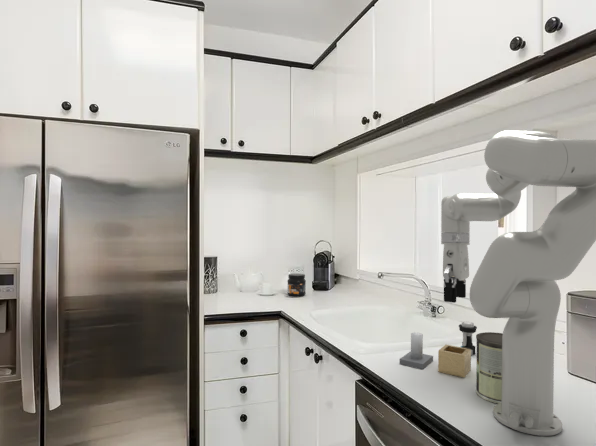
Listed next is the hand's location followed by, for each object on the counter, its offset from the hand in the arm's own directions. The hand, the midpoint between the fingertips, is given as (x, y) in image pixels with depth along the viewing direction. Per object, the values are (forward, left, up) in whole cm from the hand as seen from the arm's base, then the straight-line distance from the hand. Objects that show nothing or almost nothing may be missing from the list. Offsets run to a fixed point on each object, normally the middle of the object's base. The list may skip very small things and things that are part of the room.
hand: (455, 299), depth 112 cm
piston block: (0, +11, -20) cm, 23 cm away
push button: (+17, +1, -20) cm, 26 cm away
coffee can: (-10, -13, -21) cm, 26 cm away
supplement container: (+64, +104, -21) cm, 124 cm away
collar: (0, 0, -20) cm, 20 cm away
